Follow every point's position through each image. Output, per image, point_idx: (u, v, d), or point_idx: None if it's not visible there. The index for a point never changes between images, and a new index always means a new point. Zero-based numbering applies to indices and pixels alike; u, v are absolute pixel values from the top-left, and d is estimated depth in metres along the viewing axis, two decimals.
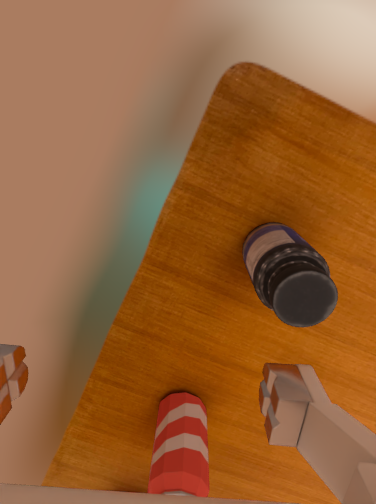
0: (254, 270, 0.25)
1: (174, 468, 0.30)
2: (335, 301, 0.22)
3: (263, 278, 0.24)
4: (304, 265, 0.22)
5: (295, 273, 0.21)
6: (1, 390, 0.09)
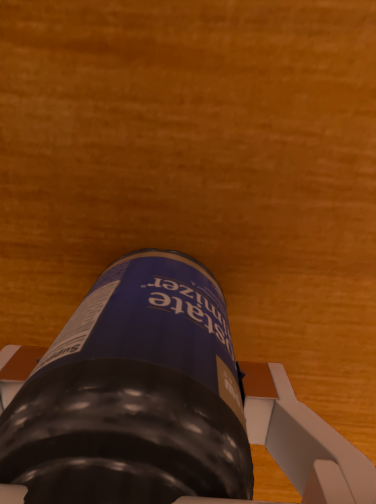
0: None
1: None
2: None
3: None
4: None
5: None
6: None
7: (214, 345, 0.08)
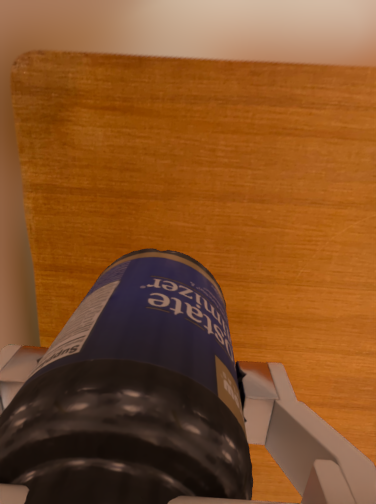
0: None
1: None
2: None
3: None
4: None
5: None
6: None
7: (213, 346, 0.08)
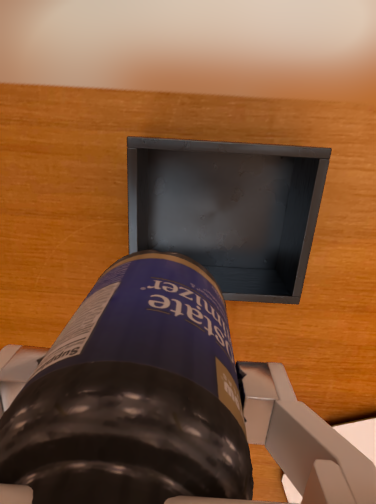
0: None
1: None
2: None
3: None
4: None
5: None
6: None
7: (214, 348, 0.08)
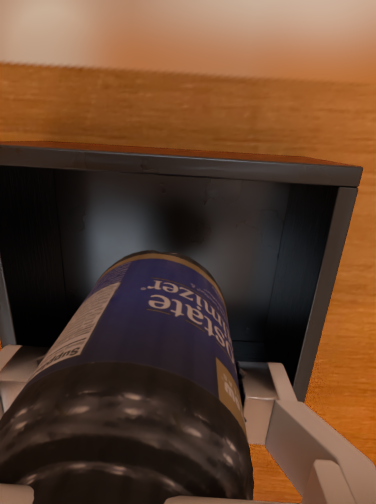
0: None
1: None
2: None
3: None
4: None
5: None
6: None
7: (214, 348, 0.08)
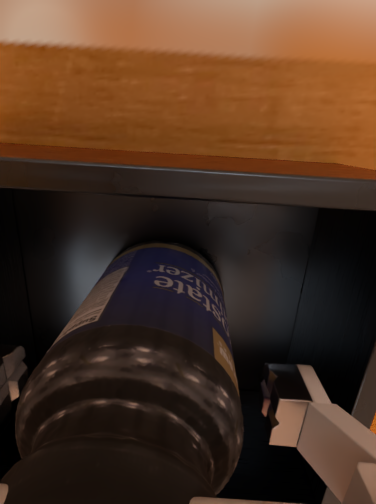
0: None
1: None
2: None
3: None
4: (45, 458, 0.05)
5: None
6: (1, 390, 0.09)
7: (211, 321, 0.09)
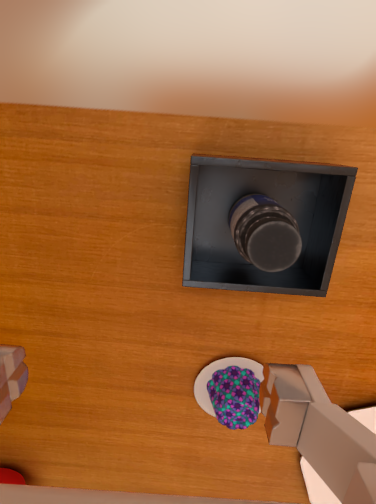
0: (234, 238, 0.30)
1: None
2: (299, 240, 0.25)
3: (240, 242, 0.28)
4: (264, 219, 0.26)
5: (257, 228, 0.25)
6: (1, 390, 0.09)
7: None
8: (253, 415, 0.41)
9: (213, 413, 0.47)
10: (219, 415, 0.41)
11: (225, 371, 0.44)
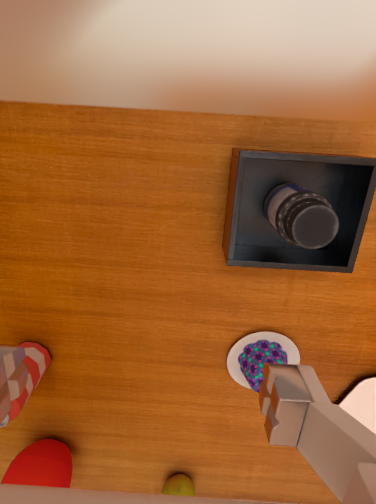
0: (275, 222, 0.34)
1: None
2: (337, 221, 0.30)
3: (282, 224, 0.33)
4: (306, 204, 0.30)
5: (301, 211, 0.30)
6: (1, 390, 0.09)
7: None
8: None
9: (243, 383, 0.52)
10: (253, 382, 0.46)
11: (255, 345, 0.49)
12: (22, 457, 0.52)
